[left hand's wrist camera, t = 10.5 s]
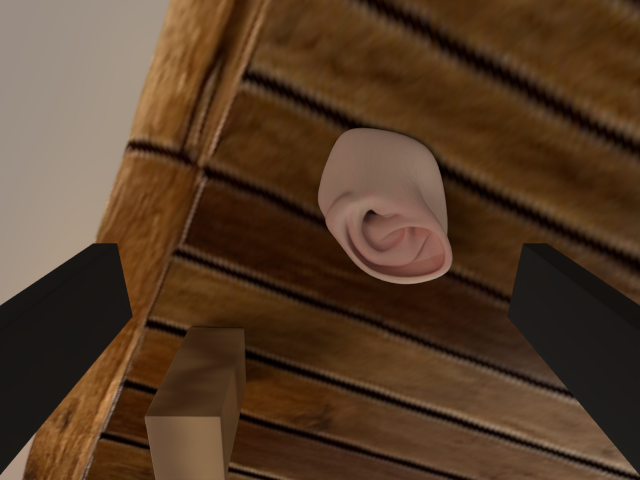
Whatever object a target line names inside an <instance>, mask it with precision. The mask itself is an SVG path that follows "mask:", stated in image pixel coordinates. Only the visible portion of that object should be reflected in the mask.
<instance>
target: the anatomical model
mask: <svg viewBox="0 0 640 480" xmlns="http://www.w3.org/2000/svg"><path fill="white" fill-rule="evenodd" d="M318 202H319V206H320V209H321V211H322V213H323V215H324V216H325V218H326V224H327V227H328V229H329V230H330V232H331V233H332V234H333V236H334V237H335V238H336V239H337V241H338V242H339V243H340V245H341V246H342V247H343V249H344V250H345V251H346V253H347V254H348V255H349V257H350V258H351V259H352V260H353V261H354V262H355V263H356V264H357V265H358V266H359V267H360V268H361V269H362V270H364V271H365V272H366V273H368V274H370V275H372V276H374V277H376V278H378V279H381V280H384V281H388V282H393V283H399V284H412V283H420V282H424V281H428V280H432V279H435V278H437V277H439V276H441V275H443V274H444V273H446V272H447V271H448V270H449V268H450V266H451V264H452V250H451V246H450V243H449V240H448V238H447V210H446V202H445V195H444V188H443V183H442V178H441V175H440V171H439V168H438V165H437V163H436V160H435V158H434V156H433V155H432V154H431V152H430V151H429V150H428V149H427V148H426V147H425V146H424V145H422V144H421V143H419V142H418V141H416V140H414V139H412V138H410V137H407V136H404V135H401V134H398V133H394V132H390V131H385V130H379V129H370V128H356V129H351V130H348V131H346V132H344V133H343V134H342V135H341V136H340V137H339V138H338V140H337V141H336V143H335V145H334V147H333V149H332V151H331V153H330V156H329V158H328V161H327V163H326V166H325V168H324V171H323V174H322V179H321V183H320V188H319V193H318Z"/></svg>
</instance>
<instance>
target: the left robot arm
mask: <svg viewBox="0 0 640 480" xmlns="http://www.w3.org/2000/svg"><path fill="white" fill-rule="evenodd" d="M132 317H133V316H132V311H131V307H130V302H129V297H128V293H127V288H126V283H125V279H124V274H123V270H122V265H121V260H120V256H119V251H118V246H117V243H93V244H92V245H90V246H89V247H87V248H86V249H84V250H83V251H81V252H80V253H78V254H77V255H75V256H74V257H72V258H71V259H69V260H68V261H66V262H65V263H63V264H62V265H60V266H59V267H57V268H56V269H54V270H53V271H51V272H50V273H48V274H47V275H45V276H44V277H42V278H41V279H39V280H38V281H36V282H35V283H33V284H32V285H30V286H29V287H27V288H26V289H24V290H23V291H21V292H20V293H18V294H17V295H15V296H14V297H12V298H11V299H9V300H8V301H6V302H5V303H3V304H2V305H0V475H1V474H2V472H3V471H4V470H5V469H6V468H7V466H8V465H9V464H10V463H11V461H12V460H13V459H14V458H15V457H16V456H17V454H18V453H19V452H20V451H21V450H22V448H23V447H24V446H25V445H26V444H27V442H28V441H29V440H30V439H31V438H32V436H33V435H34V434H35V433H36V432H37V430H38V429H39V428H40V427H41V426H42V424H43V423H44V422H45V421H46V420H47V418H48V417H49V416H50V415H51V414H52V412H53V411H54V410H55V409H56V408H57V406H58V405H59V404H60V403H61V402H62V400H63V399H64V398H65V397H66V396H67V394H68V393H69V392H70V391H71V390H72V388H73V387H74V386H75V385H76V384H77V382H78V381H79V380H80V379H81V378H82V376H83V375H84V374H85V373H86V372H87V370H88V369H89V368H90V367H91V366H92V364H93V363H94V362H95V361H96V360H97V358H98V357H99V356H100V355H101V354H102V352H103V351H104V350H105V349H106V348H107V346H108V345H109V344H110V343H111V342H112V340H113V339H114V338H115V337H116V336H117V335H118V333H119V332H120V331H121V330H122V329H123V327H124V326H125V325H126V324H127V323H128V321H129V320H130V319H131V318H132ZM507 317H508V318H509V319H510V320H511V321H512V323H513V324H514V325H515V326H516V327H517V329H518V330H519V331H520V332H521V333H522V335H523V336H524V337H525V338H526V339H527V340H528V342H529V343H530V344H531V345H532V346H533V348H534V349H535V350H536V351H537V352H538V354H539V355H540V356H541V357H542V358H543V360H544V361H545V362H546V363H547V364H548V366H549V367H550V368H551V369H552V370H553V372H554V373H555V374H556V375H557V376H558V378H559V379H560V380H561V381H562V382H563V384H564V385H565V386H566V387H567V388H568V390H569V391H570V392H571V393H572V394H573V396H574V397H575V398H576V399H577V400H578V402H579V403H580V404H581V405H582V406H583V408H584V409H585V410H586V411H587V412H588V414H589V415H590V416H591V417H592V418H593V420H594V421H595V422H596V423H597V424H598V426H599V427H600V428H601V429H602V430H603V432H604V433H605V434H606V435H607V436H608V438H609V439H610V440H611V441H612V442H613V444H614V445H615V446H616V447H617V448H618V450H619V451H620V452H621V453H622V454H623V456H624V457H625V458H626V459H627V460H628V462H629V463H630V464H631V465H632V466H633V468H634V469H635V470H636V471H637V472H638V474H639V475H640V305H638V304H637V303H635V302H634V301H632V300H631V299H629V298H628V297H626V296H625V295H623V294H622V293H620V292H619V291H617V290H616V289H614V288H613V287H611V286H610V285H608V284H607V283H605V282H604V281H602V280H601V279H599V278H598V277H596V276H595V275H593V274H592V273H590V272H589V271H587V270H586V269H584V268H583V267H581V266H580V265H578V264H577V263H575V262H574V261H572V260H571V259H569V258H568V257H566V256H565V255H563V254H562V253H560V252H559V251H557V250H556V249H554V248H553V247H551V246H550V245H548V244H547V243H523V246H522V251H521V256H520V260H519V265H518V270H517V274H516V279H515V283H514V288H513V293H512V297H511V302H510V307H509V311H508V316H507Z"/></svg>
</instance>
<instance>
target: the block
mask: <svg viewBox="0 0 640 480" xmlns="http://www.w3.org/2000/svg"><path fill="white" fill-rule="evenodd" d="M245 387H246V362H245V338H244V328H205V327H190V328H189V330H188V332H187V334H186V336H185V338H184V340H183V342H182V343H181V345H180V347H179V349H178V351H177V353H176V355H175V357H174V359H173V361H172V363H171V365H170V367H169V369H168V371H167V373H166V375H165V377H164V379H163V381H162V383H161V385H160V387H159V389H158V391H157V393H156V395H155V397H154V399H153V401H152V403H151V405H150V407H149V409H148V411H147V413H146V415H145V421H146V426H147V432H148V438H149V444H150V449H151V455H152V461H153V467H154V472H155V478H156V480H226V476H227V472H228V467H229V462H230V458H231V453H232V448H233V443H234V439H235V434H236V429H237V425H238V420H239V415H240V411H241V406H242V401H243V396H244V392H245Z"/></svg>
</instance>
